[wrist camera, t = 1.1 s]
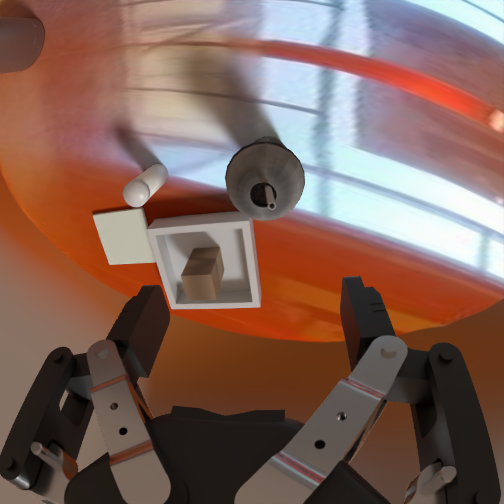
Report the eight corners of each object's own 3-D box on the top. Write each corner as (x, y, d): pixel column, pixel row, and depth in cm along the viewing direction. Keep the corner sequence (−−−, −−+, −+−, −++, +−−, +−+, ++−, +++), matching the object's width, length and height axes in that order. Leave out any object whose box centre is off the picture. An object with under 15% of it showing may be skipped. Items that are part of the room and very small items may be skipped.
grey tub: (177, 295, 50) (171, 309, 47) (155, 218, 43) (146, 229, 40) (261, 292, 48) (260, 307, 45) (251, 209, 41) (249, 220, 38)
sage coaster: (111, 262, 48) (109, 264, 47) (94, 213, 43) (92, 215, 43) (158, 260, 47) (156, 262, 46) (143, 207, 42) (141, 208, 42)
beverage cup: (227, 157, 38) (184, 224, 21) (264, 114, 35) (251, 141, 18) (271, 191, 40) (266, 283, 23) (309, 151, 37) (338, 214, 20)
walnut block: (198, 271, 46) (187, 300, 40) (193, 248, 44) (180, 275, 38) (224, 270, 46) (216, 299, 40) (220, 246, 44) (210, 274, 38)
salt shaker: (150, 186, 41) (126, 208, 34) (145, 165, 39) (120, 184, 32) (170, 183, 40) (149, 205, 33) (166, 161, 39) (143, 180, 32)
